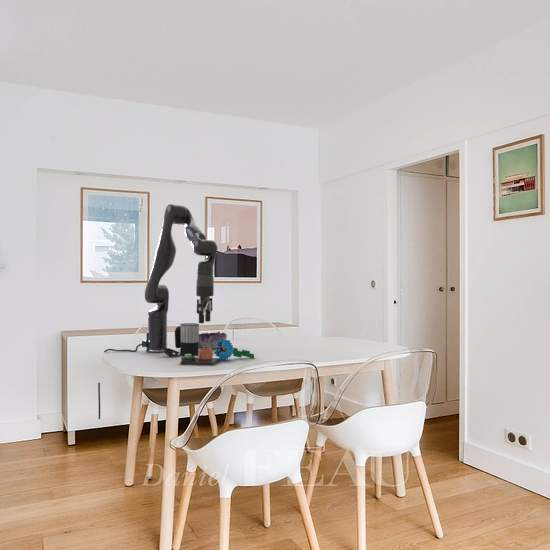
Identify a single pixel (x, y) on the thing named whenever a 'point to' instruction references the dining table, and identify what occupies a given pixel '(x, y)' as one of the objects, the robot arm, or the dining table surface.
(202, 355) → the bowl
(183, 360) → the scale
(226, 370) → the dining table surface
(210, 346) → the geode
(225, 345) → the toy flower
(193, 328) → the milk frother
